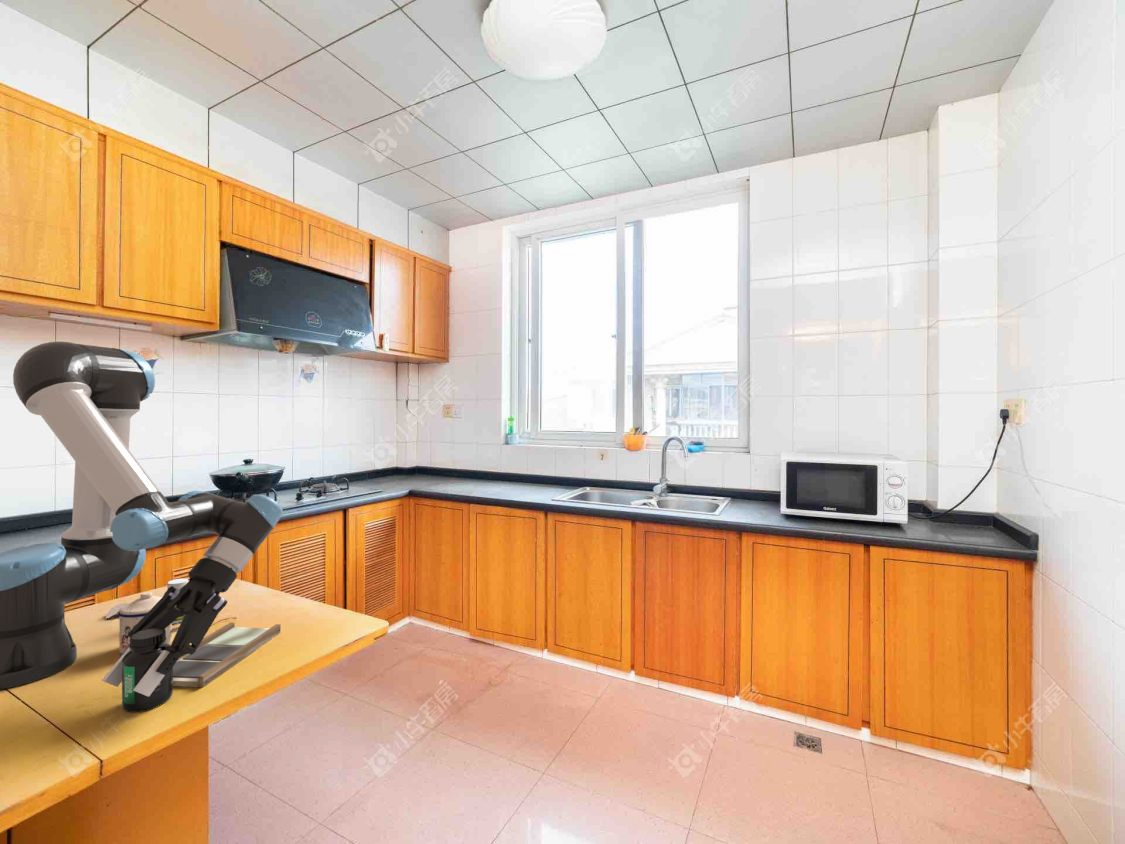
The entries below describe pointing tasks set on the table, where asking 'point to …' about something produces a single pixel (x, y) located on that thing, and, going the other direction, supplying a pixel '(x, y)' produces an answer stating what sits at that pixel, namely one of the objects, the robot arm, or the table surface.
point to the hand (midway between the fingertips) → (125, 688)
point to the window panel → (220, 653)
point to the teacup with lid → (138, 618)
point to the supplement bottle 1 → (144, 670)
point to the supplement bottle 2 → (177, 584)
